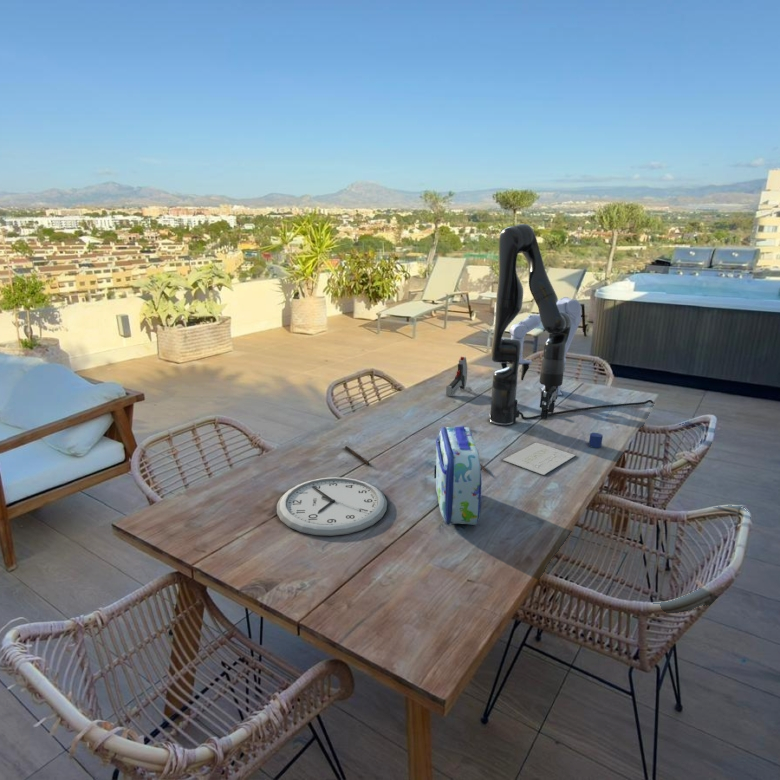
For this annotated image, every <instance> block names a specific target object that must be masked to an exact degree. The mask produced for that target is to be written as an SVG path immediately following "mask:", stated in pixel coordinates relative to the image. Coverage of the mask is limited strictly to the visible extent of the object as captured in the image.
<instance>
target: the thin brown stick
mask: <svg viewBox="0 0 780 780" xmlns="http://www.w3.org/2000/svg"><path fill="white" fill-rule="evenodd" d="M344 449H345V450H346V451H348V452H349V453H350V454H352V455H353V456H355V457H356V458H358V459H359V460H361V461H362V462H363V463H364V464H366V465H370V461H368V460H367V459H366V458H364V457H363V456H361V455H360V454H358V453H357V452H356V451H354V450H353V449H352V448H350V447H348V446H347V445H345V446H344Z"/></svg>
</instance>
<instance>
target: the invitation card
mask: <svg viewBox="0 0 780 780" xmlns="http://www.w3.org/2000/svg"><path fill="white" fill-rule="evenodd" d="M576 456H577V455H576V454H573V453H570V452H567V451H565V450H561V449H558V448H555V447H552V446H549V445H546V444H543V443H539V442H534V443H532V444H529V445H528V446H526V447H524V448H522V449H520V450H518V451H516V452H514V453H512V454H510V455H509V456H507V457H505V458H503V459H502V461H503V462H506V463H509V464H511V465H514V466H518V467H520V468H523V469H525V470H528V471H531V472H534V473H536V474H539V475H541V476H545V475H547V474H548V473H550V472H552V471H554V469H556V468H558V467H559V466H561V465H563V464H564V463H566V462H568V461H570V460H571V459H572V458H574V457H576Z"/></svg>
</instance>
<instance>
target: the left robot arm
mask: <svg viewBox="0 0 780 780" xmlns="http://www.w3.org/2000/svg"><path fill="white" fill-rule="evenodd" d="M518 254H522V255H523V256H524V258H525V261H526V263H527V267H528V289H529V291H530V294H531V296H532V298H533V300H534V302H535V304H536V306H537V308H538V314H540V318H541V322H540V323H541V325H542V327H543V329H544V330H545V332H547V333H548V337H547V340H545V343H544V344H543V353H542V360H541V365H540V373H539V374H540V375H539V383H540V384H541V385H543V386H544V385H545V389H543V391H542V390H541V391H540V401H539V408H541V411H540V414H537V415H532V416H529V417H527V416H524V413H523V412H522V411H520V410H519V409H518V399H517V388H518V377H519V376H518V375H519V366H520V365H519V360H520V354H521V343H520V341H519V340H517V339H511V338H503V335H504V334H505V331H506V329H507V328H508V327H509V325H511V323H512V322H513V321H514V320H515V319H516V318H517V316H518V315H519V313H520V312H521V310H522V308H523V300H524V287H523V284H522V281H521V280H520V277H519V275H518V272H517V260H518ZM497 277H498V278H497V291H496V300H495V318H494V328H493V336H492V341H491V342H492V344H491V348H490V350H491V351H490V356H491V357H490V358H491V361H492V362H494V363H498V364H499V363H510V364H508V365H507V367H506V368H504V369H503V368H501V369H497V370H495V371H494V372H493V374H492V388H491V399H490V410H489V411H490V412H489V415H488V416H489V422H490V423H491V424H494V425H497V426H511V425H513V424H516V423H517V419H518V418H520V417H521V419H522V420H533V419H538V418H540V419H541V420H548V418H549V416H556V415H561V414H567V413H574V412H581V411H586V410H595V409H603V408H614V407H615V408H616V407H624V406H625V407H627V406H639V405H645V404H649V403H651V404H654V401H653V400H652V399H647V400H645V401H640V402H625V403H615V404H604V405H595V406H594V405H593V406H588V407H580V408H573V409H567V410H562V411H561V410H559V411H555V404H556V402H557V400H558V396H559V395H558V386H560V387H561V386H563V380H564V373H565V371H564V357H565V358H566V356H565V347H566V343H567V340H568V337H569V333H570V329H571V319H570V317H569V315H568V314H567V313H565V312H559V310H558V307H557V304H556V303H557V302H558V300H559V298H558V295H557V293H556V291H555V289H554V286H553V284H552V283H551V280H550V279H549V277H548V273H547V270H546V267H545V264H544V260H543V257H542V252H541V250H540V246H539V243H538V240H537V236H536V233H535V230H534V229H533V228H532V226H531V225H529V224H527V223H521V224H516V225H513V226H508V227H505V228H504V229H502V231H501V232H500V234H499V237H498V276H497Z"/></svg>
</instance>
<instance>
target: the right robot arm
mask: <svg viewBox="0 0 780 780" xmlns="http://www.w3.org/2000/svg"><path fill="white" fill-rule="evenodd" d="M556 304H557V307H558V310H559V312H565V313H567V314H568V315H569V317H570V319H571V329H570V333H569V337H568V340H567V343H566V347H565V357H564V372H565V371H566V364H567V359H566V356H567V354H568V351H569V349H570V346H571V344H572V342H573V339H574V338H575V335H576V333H577V330H578V328H579V326H580V323H581V321H582V313H581V310H582V307H583V306H582V305H581V303H580V301H579V300H577V299H574V298H570V297H568V296H563V297H561V298H560V299H558V302H557V303H556ZM541 323H542V322H541V318H540V314H539V313H537V314H532V315H531V314H529V315H527V317H526V318H524V319H523V320H520V321H518V323H514V324H512V325H511V327H510V329H509V334H510V339H517V340H519V341H520V343H521V354H520V360H519V366H520V365H521V376H520V380H521V381H524V378H525V376H526V374H527V372H528V370H529V369H530V366H532V364H533V363H532V362H533V361H532V360H531V359H524V358H523V352H524V340H525V339H524V338H525V337H526V336H527V334H529V332H531V331H533V330H535V329H536V328H538V327H539V326H540V325H541ZM498 364H499V365H501V369H504V368H506V367H508V365H510V363H498ZM540 389H541V392H542V391H543V389H545V385H543V387H541V388H540ZM557 396H563V393H562V392H561V386H558V395H557Z"/></svg>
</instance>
